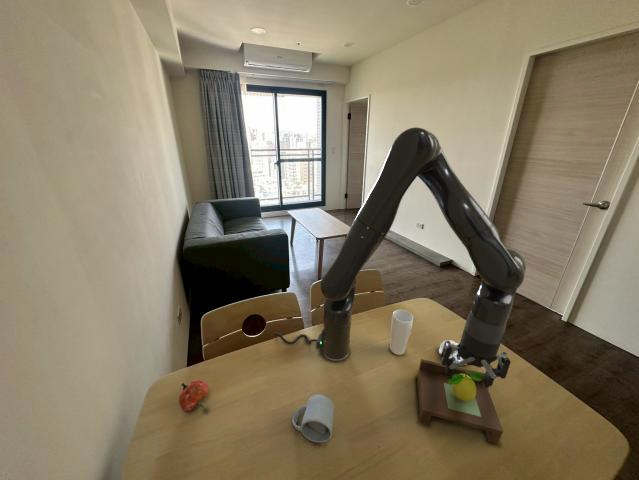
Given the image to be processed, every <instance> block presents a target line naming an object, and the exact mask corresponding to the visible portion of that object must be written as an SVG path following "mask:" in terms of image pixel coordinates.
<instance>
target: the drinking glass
mask: <svg viewBox="0 0 639 480" xmlns="http://www.w3.org/2000/svg"><path fill="white" fill-rule="evenodd" d="M413 325H414V315H413V314H412V313H411V312H409V310H405V309H396V310H394V311H393V313H392V316H391V321H390V338H389V339H390V342H389V350H390V351H391V352H392V353H393V354H395V355H396V356H397V355H398V356H401V355H404V354H405V353H406V349H407V345H408V342H409V338H410V335H411V332H412V328H413Z"/></svg>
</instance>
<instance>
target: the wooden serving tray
mask: <svg viewBox="0 0 639 480" xmlns="http://www.w3.org/2000/svg"><path fill="white" fill-rule="evenodd" d="M446 366H447V365H445V366H444V365H442V362H441V363H440V362H435V361H432V360H428V359H423V358H422V359H420V362H419V367H418V372H417V376H416V384H417V396H418V398H417V399H418V408H419V409H418V410H419V421H420V423H421V424H424V425H429V424H430V420H431V416H432V417H437V418H440V419H444V420H447V421H450V422H453V423H454V422H455V423H459V424H462V425H465V426H468V427H472V428H475V429H479V430H483V431H485V435H486V439H487V442H488V443H492V444H494V445H498V444H499V442H500V441H501V438H502V435H503V433H504V429H503V427H502V425H501V421H500V418H499V416H498V413H497V410H496V408H495V405H494V402H493V399H492V396H491V394H490V391H489V388H486V387H485V386H484V383H483V379H482V380H481V381H476V380H474V379H472V380H473V381H474V383H475V386H476V396H475V398H474V399H473V400H472V401H468V402H466V401H462V400H460V399H458V398H457V397H456V396H455V394H454V392H453V389H452V384H450V383H448V381H449V379H448V376H446V371H445V369H446ZM466 370H467V372H468V373H472V372H476V373H480V374H481V375H482V376H483V378H484V375H485V373H486V372H481V371H476V370H472V369H467V368H462V367H460V366H458V367H456V368H454V373H453V375H455V374H466ZM468 373H467V375H468V376H469V377H471V376H470V375H469V374H468ZM471 378H472V377H471Z"/></svg>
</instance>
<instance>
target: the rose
mask: <svg viewBox="0 0 639 480" xmlns="http://www.w3.org/2000/svg"><path fill="white" fill-rule="evenodd" d="M446 341H450V343H451V344H453V345H458V344H459V343H458V342H456V341H454V340H452V339H449V340H444V341H443V342H441V343H440V346H439V349H438V353H439V355H441V353H442V350H443V347H444V344H445V342H446ZM456 352H457V351H454V352H453V354H451V355H450V357H451V356H453V355H454V353H456ZM450 357H449V358H450ZM461 359H462V358H461V357H460V360H461ZM454 362H455V361H454ZM464 366H468V365H467V364H465V365H464Z"/></svg>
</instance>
